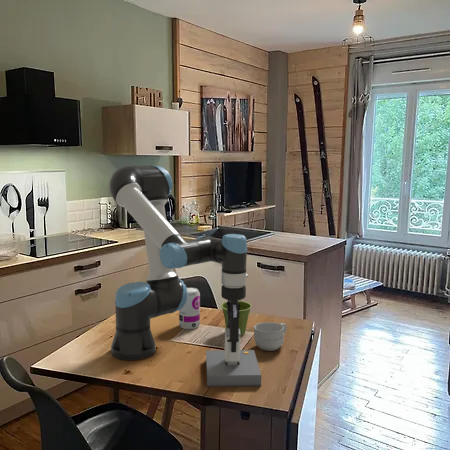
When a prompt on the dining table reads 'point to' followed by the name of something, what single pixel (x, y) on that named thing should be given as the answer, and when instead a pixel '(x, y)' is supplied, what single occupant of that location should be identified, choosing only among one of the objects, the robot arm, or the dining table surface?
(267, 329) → the teacup
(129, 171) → the robot arm
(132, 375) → the dining table surface
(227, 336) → the plug
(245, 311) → the plant pot
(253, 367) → the plate
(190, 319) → the supplement can
